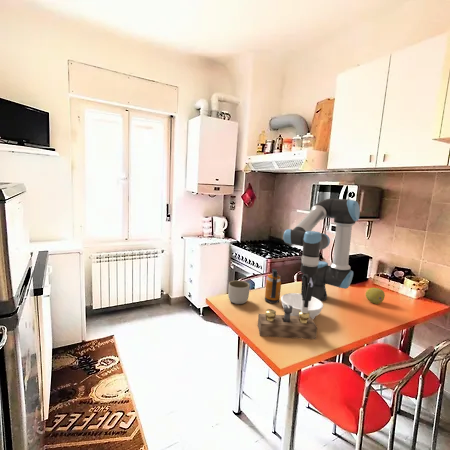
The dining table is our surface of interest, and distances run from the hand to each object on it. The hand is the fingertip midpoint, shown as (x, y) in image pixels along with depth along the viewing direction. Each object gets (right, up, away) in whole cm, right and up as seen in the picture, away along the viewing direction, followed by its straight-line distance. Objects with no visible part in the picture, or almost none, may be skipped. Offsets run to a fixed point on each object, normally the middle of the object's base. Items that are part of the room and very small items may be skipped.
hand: (304, 312), depth 129 cm
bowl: (+4, -8, +20) cm, 22 cm away
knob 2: (-1, -10, +1) cm, 10 cm away
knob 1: (-17, -9, +2) cm, 19 cm away
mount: (-9, -10, +2) cm, 13 cm away
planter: (-30, -4, +33) cm, 45 cm away
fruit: (+58, -8, +45) cm, 74 cm away
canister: (-9, -5, +36) cm, 38 cm away
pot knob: (-8, -6, +1) cm, 11 cm away
